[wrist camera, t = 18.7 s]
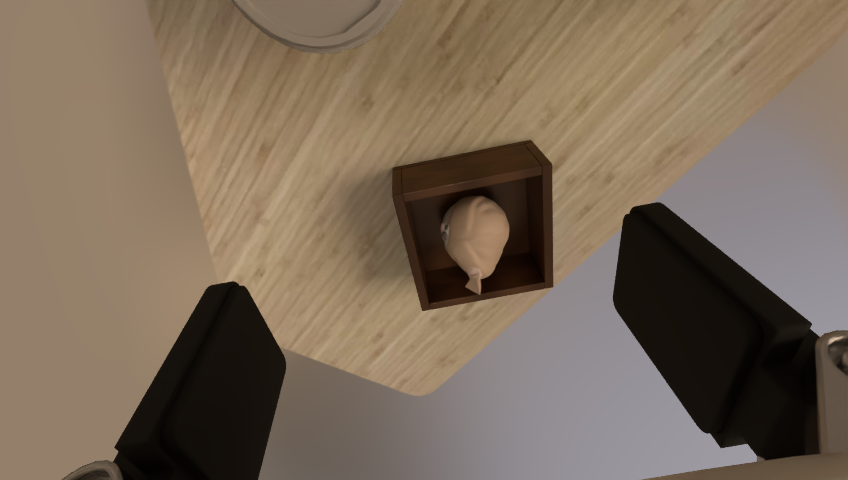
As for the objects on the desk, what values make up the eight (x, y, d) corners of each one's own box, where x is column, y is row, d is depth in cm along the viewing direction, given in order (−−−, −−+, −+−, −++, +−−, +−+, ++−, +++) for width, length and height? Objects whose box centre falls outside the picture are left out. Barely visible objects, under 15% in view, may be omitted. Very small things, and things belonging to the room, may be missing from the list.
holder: (419, 275, 42) (422, 311, 38) (392, 167, 36) (392, 195, 31) (535, 253, 42) (553, 287, 37) (531, 139, 35) (552, 163, 30)
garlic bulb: (422, 222, 38) (428, 273, 32) (465, 173, 36) (482, 216, 29) (472, 255, 41) (488, 308, 34) (516, 211, 38) (543, 259, 32)
